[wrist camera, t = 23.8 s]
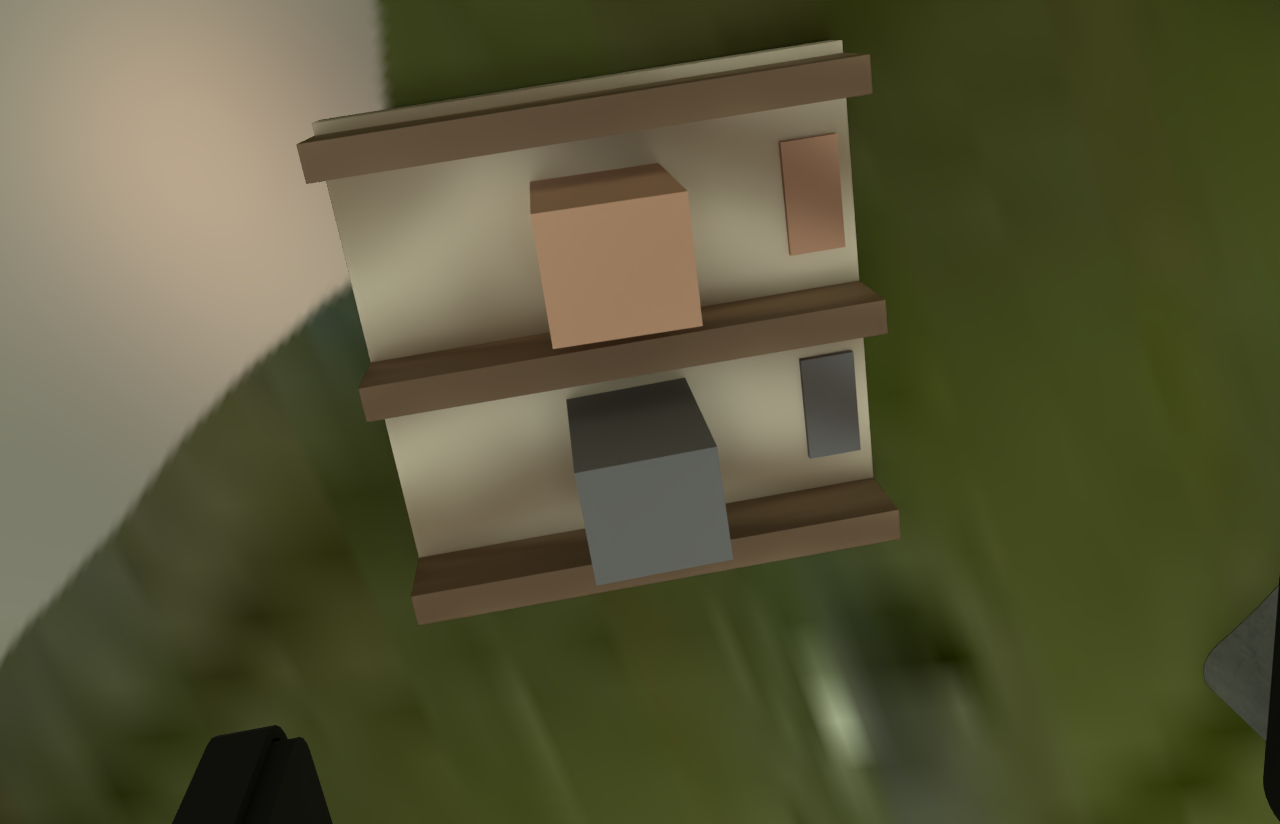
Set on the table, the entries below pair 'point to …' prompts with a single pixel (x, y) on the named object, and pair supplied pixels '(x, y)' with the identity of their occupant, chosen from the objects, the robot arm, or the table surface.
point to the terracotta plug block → (615, 254)
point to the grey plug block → (647, 481)
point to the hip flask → (1246, 666)
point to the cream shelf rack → (545, 377)
